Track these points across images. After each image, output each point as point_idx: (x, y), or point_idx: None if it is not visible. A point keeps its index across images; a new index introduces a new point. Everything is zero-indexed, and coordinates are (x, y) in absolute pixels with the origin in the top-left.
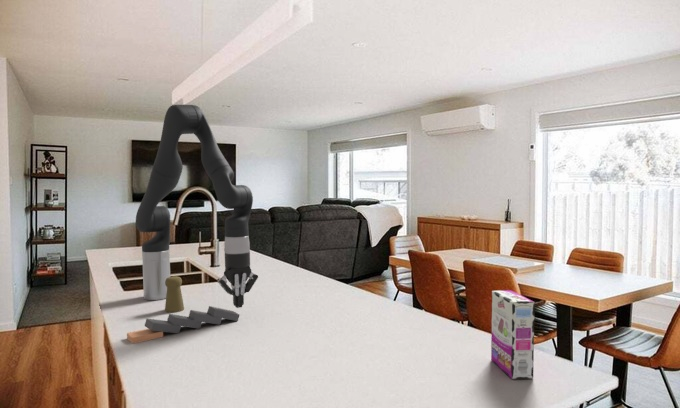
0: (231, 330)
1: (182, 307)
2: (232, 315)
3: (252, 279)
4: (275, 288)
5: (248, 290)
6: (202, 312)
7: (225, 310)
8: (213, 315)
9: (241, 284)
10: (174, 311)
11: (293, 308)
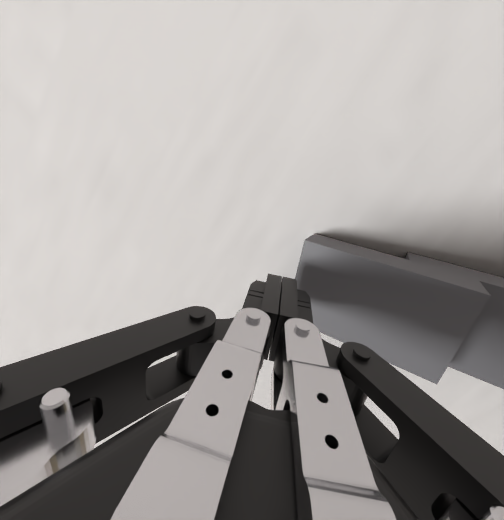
0: (450, 117)
1: None
2: (348, 248)
3: (71, 386)
4: None
5: (194, 310)
6: (481, 360)
7: (359, 306)
8: (478, 281)
9: (253, 381)
10: None
11: (20, 199)
